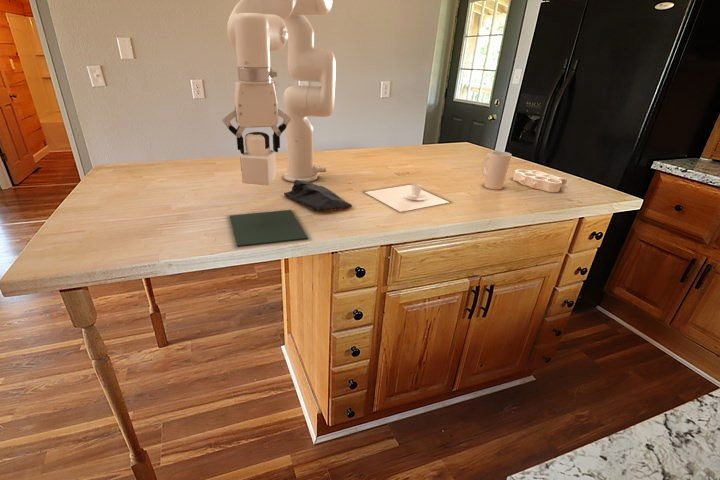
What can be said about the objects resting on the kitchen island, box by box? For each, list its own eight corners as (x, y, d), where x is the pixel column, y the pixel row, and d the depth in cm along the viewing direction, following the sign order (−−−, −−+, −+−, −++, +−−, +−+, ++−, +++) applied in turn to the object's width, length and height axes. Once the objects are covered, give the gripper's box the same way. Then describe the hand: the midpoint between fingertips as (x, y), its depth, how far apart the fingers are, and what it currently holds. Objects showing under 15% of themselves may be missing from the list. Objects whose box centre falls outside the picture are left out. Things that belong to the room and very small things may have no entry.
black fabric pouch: (312, 217, 114) (312, 201, 111) (281, 194, 130) (280, 180, 128) (356, 208, 120) (357, 193, 118) (321, 188, 137) (321, 174, 135)
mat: (290, 211, 118) (290, 209, 118) (307, 238, 101) (307, 237, 101) (230, 216, 113) (229, 215, 113) (237, 246, 97) (237, 245, 96)
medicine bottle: (251, 174, 107) (248, 129, 101) (276, 176, 106) (274, 131, 99) (242, 183, 101) (237, 136, 95) (268, 185, 100) (266, 138, 94)
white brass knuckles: (573, 188, 141) (546, 194, 135) (530, 175, 155) (504, 179, 149) (576, 179, 140) (549, 184, 134) (532, 167, 154) (506, 171, 148)
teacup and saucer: (411, 203, 125) (413, 191, 123) (396, 195, 131) (397, 184, 129) (432, 199, 129) (434, 187, 127) (416, 192, 135) (418, 180, 133)
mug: (507, 188, 140) (516, 154, 134) (493, 190, 138) (502, 156, 132) (485, 180, 148) (493, 148, 142) (472, 182, 146) (479, 150, 140)
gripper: (287, 74, 97) (289, 147, 105) (215, 74, 92) (223, 150, 101) (294, 77, 90) (295, 153, 99) (217, 77, 86) (225, 157, 95)
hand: (259, 151), depth 100 cm, fingers closed on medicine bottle, 8 cm apart
